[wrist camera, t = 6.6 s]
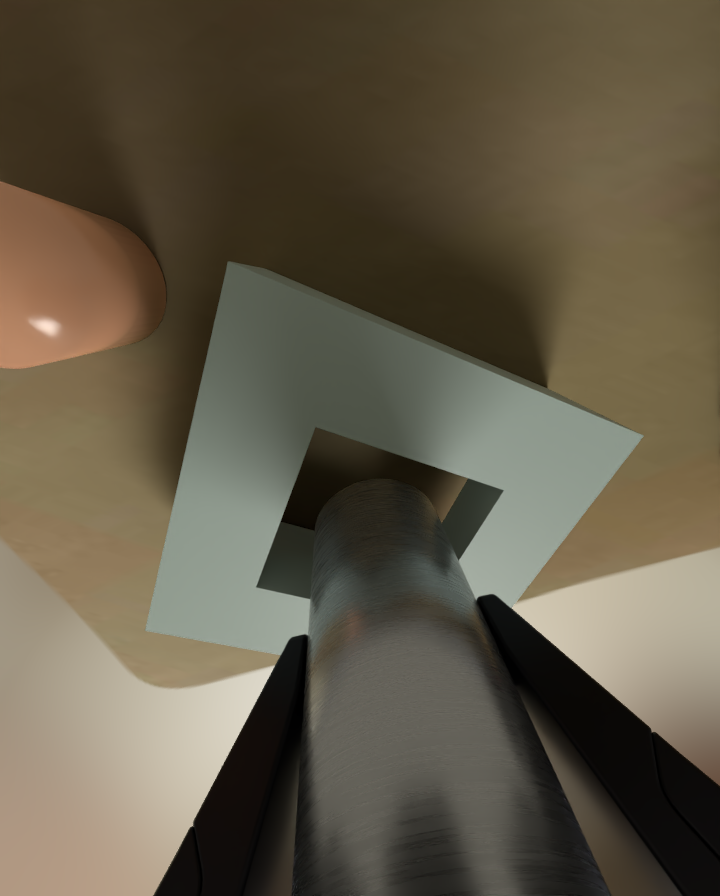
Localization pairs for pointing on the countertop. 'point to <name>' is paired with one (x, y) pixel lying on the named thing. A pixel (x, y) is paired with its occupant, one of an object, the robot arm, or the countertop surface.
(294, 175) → the countertop surface
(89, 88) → the countertop surface
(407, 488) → the steel pin
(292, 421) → the slate pin jig
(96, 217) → the terracotta stub
